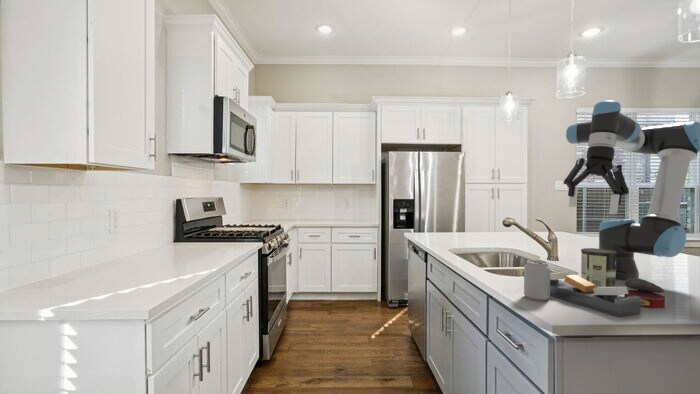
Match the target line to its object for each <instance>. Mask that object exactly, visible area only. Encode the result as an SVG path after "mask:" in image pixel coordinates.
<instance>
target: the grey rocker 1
mask: <svg viewBox="0 0 700 394" xmlns="http://www.w3.org/2000/svg"><path fill="white" fill-rule="evenodd" d="M567 275H568V274H567V272H566V271H565V272H564V271H563V272H550V280H555V279H557V280H565V277H566V276H567Z"/></svg>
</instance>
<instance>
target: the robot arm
mask: <svg viewBox="0 0 700 394" xmlns="http://www.w3.org/2000/svg"><path fill="white" fill-rule="evenodd" d="M621 107H622V106H621V103H620V102H619V101H615V100H603V101H599V102H597V103H595V104H594V107H593V110H592V114H591V121H587V122H580V123H578V122H577V123H574V124H571V125H569V126H568V127H567V128H566V131H565V138H566V140H567V142H568V143H569V144H573V145H575V144H578V145H579V144H587V147H588V148H587V151H586V159H585V158H584V157H582V158H578V159H576V161H575V165H574V166H573V168H572V169H571V170H570V171H569V173H568V174H567V176H566V178H565V179H564V180H563V184H564V185H566V186H567V188H568V193H567V197H569V200H568V208H576V207H577V201H578V195H579V194H578V193H579V186H578V185H580V183H582V181H584V180H585V179H586V178H588V177H589V176H590V175H591V176H598V177H602V178H603V179H604V181H605V182H606V184H607V185H608V186H609V188H610V190H611V192H612V193H613V194H611V196H610V202H609V211H608V215H618V210H619V205H621V202H622V196H624V195H628V194H629V189H628V186H627V183H626V179H625V177H624V174H623V166H622V164H615V165H614V164H613V161H614V159H615V151H616V149H615V148H620V149H622V150H623V151H625V152H629V153H636V154H641V155H642V154H643V155H657V157H658V158H660V162H659V166H658V170H657V175H656V178H655V183H654V187H653V192H652V195H651V199H650V203H649V207H648V211H647V214H646V215H643V216H642V217H641V219H640V223H639V222H638V223H637V222H636V221H635V219H633V218H632V219H628V218H627V219H610V220H609V219H608V220H602V221H600V222H599V228H598V249H607V250H612V251H616V252H617V254H616V279H617V280H627V279H629V278H639V279H640V272H639V268H638V266H637V263H636V261H635V253H636V254H640V255H641V254H642V255H649V256H656V257H657V258H658V257H659V258H662V257H664V258H673V257H676V256H678V255H679V254H680V253H681V252H682V251H683V249H684V247H685V245H686V242H687V232H686V231H687V230H685V228H684V227H682V222H681V221H679V220H678V216H679V212H680V207H681V204H682V198H683V193H684V190H685V187H686V186H685V185H686V180H687V176H688V172H689V168H690V163H691V162H692V161H693V160H696V159H697V157H698V152H699V153H700V122H699V121H683V122H678V123H670V124H663V125H654V126H648V127H642V128H641V124H640V123H639V122H638V121H636V120H635V119H633V118H630V116H627V115H624V114H622V113H621V111H622V110H621V109H622V108H621ZM584 166H585V167H586V169H584V170H582V168H583V167H584ZM581 170H582V172H581V173H580V174H579V172H580V171H581ZM578 174H579V175H578ZM577 175H578V176H577Z"/></svg>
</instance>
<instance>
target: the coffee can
mask: <svg viewBox="0 0 700 394" xmlns="http://www.w3.org/2000/svg"><path fill="white" fill-rule="evenodd" d="M580 252H581V253H580V254H581V256H580V257H581V258H580V259H581V263H580V268H581V269H580V277H581V278H583V279H585V280H587V281H589V282H591V283H593V284H595V285H596V286H595V288H598V287H617V286H616V254H617V252H616V251H612V250H607V249H599V248H593V247H586V248H584V247H583V248H581V249H580Z"/></svg>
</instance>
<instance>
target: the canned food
mask: <svg viewBox="0 0 700 394" xmlns="http://www.w3.org/2000/svg"><path fill="white" fill-rule="evenodd" d="M626 286H627V290H628V294H623V297H629V296H638V297H641V308H646V309H655V308H660V309H664V308H665V306H666V297H665V296H664V295H663V294H662V293H665V289H663V288H662V287H661V286H659V285H657V284H655V282H651V281H648V280H646V279H643V278H640V277H639V278H629V279H625V281H624V282H623V287H626Z"/></svg>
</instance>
